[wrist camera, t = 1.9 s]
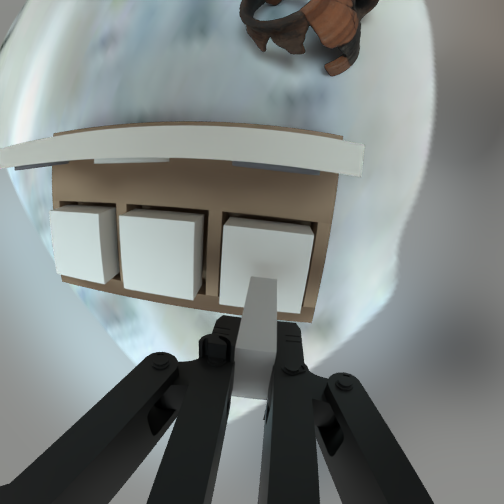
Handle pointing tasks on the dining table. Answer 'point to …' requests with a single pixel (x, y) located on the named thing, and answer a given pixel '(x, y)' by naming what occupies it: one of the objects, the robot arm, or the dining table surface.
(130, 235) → the middle button
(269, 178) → the button board
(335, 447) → the robot arm
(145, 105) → the dining table surface
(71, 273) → the button
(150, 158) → the pattern card
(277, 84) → the dining table surface
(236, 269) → the button
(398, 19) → the dining table surface
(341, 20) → the pottery mug
